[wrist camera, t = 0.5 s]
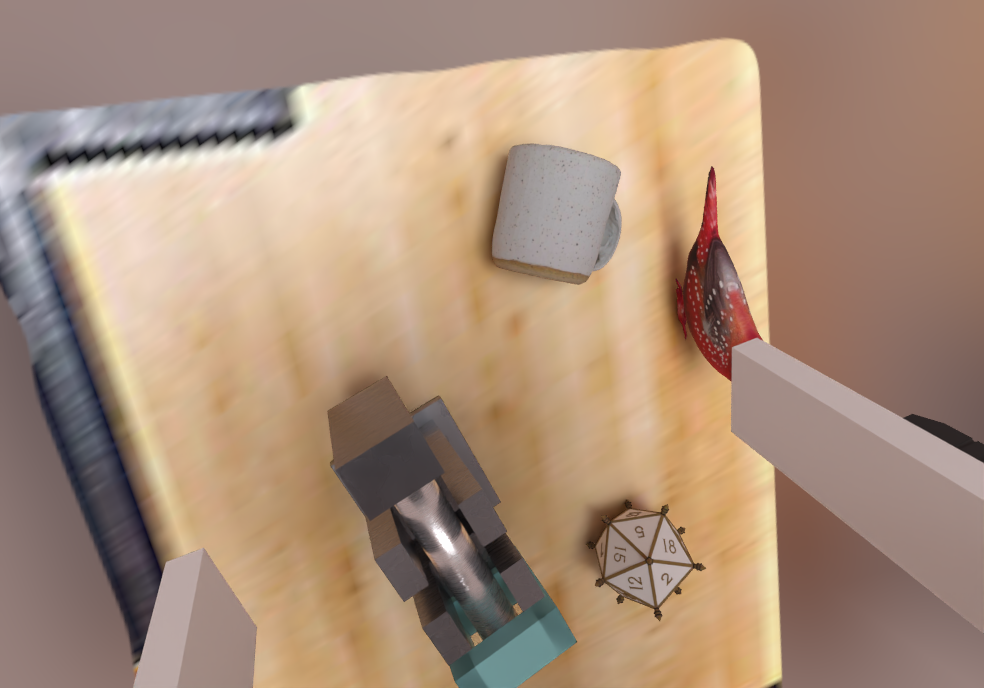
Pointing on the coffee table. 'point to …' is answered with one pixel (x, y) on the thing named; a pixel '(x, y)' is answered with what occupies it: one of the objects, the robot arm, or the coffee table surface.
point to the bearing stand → (477, 516)
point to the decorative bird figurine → (714, 294)
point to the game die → (643, 557)
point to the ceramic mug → (556, 213)
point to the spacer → (513, 644)
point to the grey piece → (412, 495)
